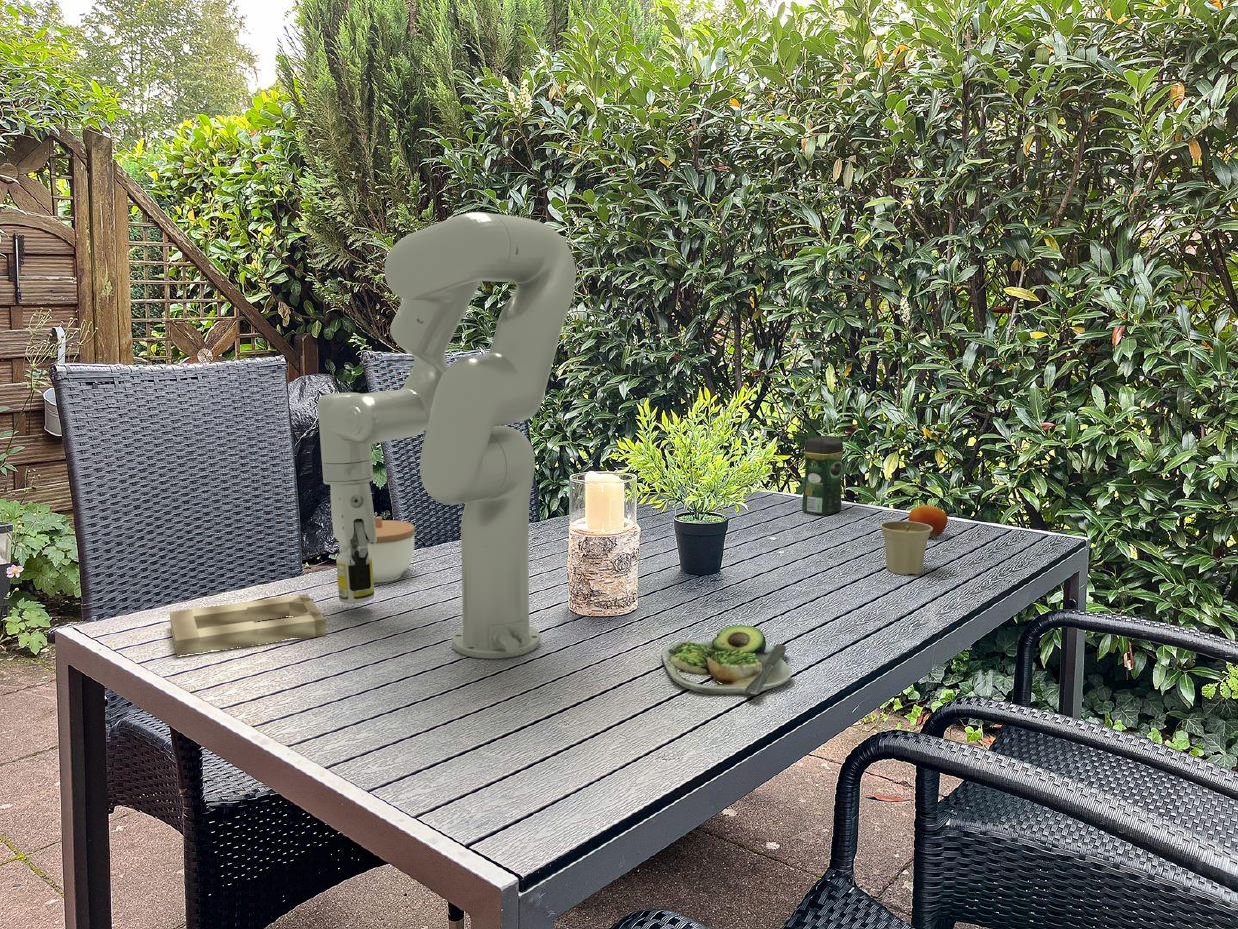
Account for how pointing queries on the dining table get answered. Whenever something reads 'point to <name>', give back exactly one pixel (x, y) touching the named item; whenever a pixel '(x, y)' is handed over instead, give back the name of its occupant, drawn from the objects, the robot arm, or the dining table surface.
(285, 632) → the beige flat rectangular frame
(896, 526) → the flower pot
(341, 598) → the supplement bottle
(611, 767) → the dining table surface
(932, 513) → the fruit
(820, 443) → the coffee jar
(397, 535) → the lidded bowl
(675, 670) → the avocado toast plate
